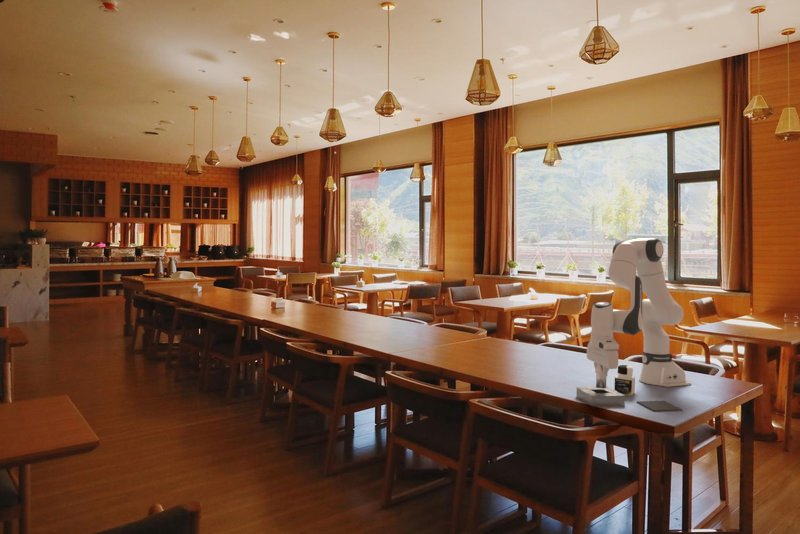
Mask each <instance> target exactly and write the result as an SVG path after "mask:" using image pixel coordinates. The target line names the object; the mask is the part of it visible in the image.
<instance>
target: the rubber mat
mask: <svg viewBox="0 0 800 534" xmlns="http://www.w3.org/2000/svg"><path fill="white" fill-rule="evenodd" d="M636 403H637V404H638V405H641V406H642V407H644V408H646V409H648V410H650V411H651V412H678V411H677V410H682V411H683V408H680V407H679V406H677V405H674V404H672V403H671V402H668V401H666V400H639V401H638V400H637V401H636ZM670 410H671V411H670ZM674 410H675V411H674Z"/></svg>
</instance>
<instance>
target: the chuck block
mask: <svg viewBox="0 0 800 534" xmlns="http://www.w3.org/2000/svg"><path fill="white" fill-rule="evenodd" d="M576 398H578V399H579V400H581V401H583V402H584V403H586V404H588V405H589V406H591V407H605V406H607V407H612V406H613V407H614V405H618V406H625V404H626V403H625V401H626V400H625V399H626V395H623V394H621V393H619V392H617V391H615V390H614V389H613V388H611V387H609V386H606V388H597V387H596V386H583V387H582V386H579V387H576ZM610 405H611V406H610Z"/></svg>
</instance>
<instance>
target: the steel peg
mask: <svg viewBox="0 0 800 534" xmlns="http://www.w3.org/2000/svg"><path fill="white" fill-rule="evenodd" d="M602 372H603V366H602V365H600V364H598V363H596V373H595V387H597V388H606V387H607V377H603V376H602Z"/></svg>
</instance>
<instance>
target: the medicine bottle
mask: <svg viewBox="0 0 800 534" xmlns="http://www.w3.org/2000/svg"><path fill="white" fill-rule="evenodd" d="M633 369H634V368H633V366H631V365H627V364H620V365H618V367H617V375H616V376H615V377H614V387H613V388H614V389H613V390H615V391H617V392H619V393H621V394H623V395H625V396H629V397H630V396H632V395H633V394H635V391H636V390H635V389H636V376H634V375H633Z"/></svg>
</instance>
